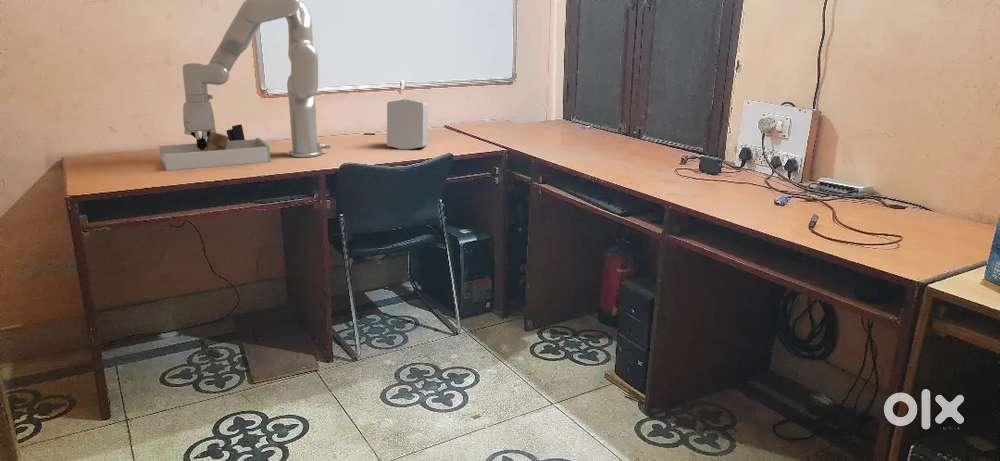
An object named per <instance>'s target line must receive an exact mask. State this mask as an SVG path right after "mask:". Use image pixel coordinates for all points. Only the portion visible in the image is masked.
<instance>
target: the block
mask: <svg viewBox="0 0 1000 461" xmlns="http://www.w3.org/2000/svg"><path fill="white" fill-rule="evenodd" d="M227 141H228V136H227V134H226V135H225V134H221V133H218V132H215V133H211V132H210V135H209V136H208V137H207V138H206V149H207V150H211V151H215V150H225V148H226V145H227Z"/></svg>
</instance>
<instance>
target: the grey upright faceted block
mask: <svg viewBox="0 0 1000 461" xmlns="http://www.w3.org/2000/svg"><path fill="white" fill-rule="evenodd" d="M428 112H429V111H428V104H427V103H426V102H425V103H424V102H419V101H415V100H410V99H406V98H405V99H399V100H392V101H387V103H386V145H387V147H389V148H390V147H391V148H395V149H400V150H411V149H418V148H424V147H427V144H428V116H429V115H428Z"/></svg>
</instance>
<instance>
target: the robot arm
mask: <svg viewBox="0 0 1000 461" xmlns="http://www.w3.org/2000/svg"><path fill="white" fill-rule="evenodd" d="M284 18H285V19H286V21H287V27H288V30H287V31H288V49H287V50H288V51H287V54H288V59H289V61H290V75H289V76H288V78H287V81H286V87H287V94H288V95H287V96H288V106H289V119H290V120H289V122H290V135H291V150H288V151H287V153H288V156H289V157H294V158H312V157H318V156H321V155H322V154H323V149H331V143H330V142H329V143H328V142H327V143H325V142H324V143H323V142H322V143H321V142H319V141H318V130H317V129H318V128H317V113H316V110H317V109H316V99H315V95H316V93H317V92H318V87H319V55H318V51H317V49H316V47H315V46H314V45H313V44H314V41H313V40H314V39H313V22H312V17H311V14H310V11H309V10H308V8H307V7H306V5H305V4H304V3H303V1H301V0H245V1H243V3H242V4H241V6H240V8H239V9H238V10H237V13H236V15H235V16H234V18H233V19H232V21H231V23H230V25H229V27H228V28H227V30H226V32H225V33H224V35H223V37H222V40H221V41H220V44H218V47H217V49H216V50H215V52H214V53H213V55H212V57H211V59H210V60H209V62H208V64H203V63H197V62H195V63H192V62H191V63H185V64H183V66H182V67H181V68H182V78H183V87H184V97H185V102H183V108H182V118H183V119H182V121H183V127H184V130H183V132H184V134H185V135H188V136H192V137H194V138H195V139H196V143H197V148H199V149H200V150H202V149H203V150H205V147H206V141H207V137H208V136H209V135H210V132H211V133H217V130H216V121H215V115H214V111H213V110H214V109H213V107H212V103H211V101H210V100H212V99H213V95H212V94H209V93H208V85H214V86H215V85H216V86H221V85H223V84H224V85H225V84H226V83H228V81H229V78H230V71H231V70H232V68H233V66H234V64H235V63H236V61H237V60H238V58H239V57H240V55H242V53H244V52H245V51H246V49H247V48H248V47H249V45H250V43H251V42H252V40H253V38H254V37H255V35H256V33H258V32H257V31H258V30H259V28H260V26H261V25H262V23H267V22H271V21H276V20H279V19H284ZM199 132H201V133H202V134H201V136H200V134H199Z"/></svg>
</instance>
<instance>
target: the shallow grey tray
mask: <svg viewBox="0 0 1000 461" xmlns="http://www.w3.org/2000/svg"><path fill="white" fill-rule="evenodd" d="M158 147H159V155H160V162H161V163H162V165H163V167H164V169H165V170H166V171H176V170H177V171H179V170H189V169H200V168H201V169H202V168H212V167H213V168H214V167H224V166H236V165H248V164H250V165H251V164H259V163H260V164H261V163H271V153H270V152H271V149H270V145H269V144H268V143H266V142H265V141H264V140H262V139H261V138H260V137H255V138H254V139H253V138H251V139H245V140H237V141H227V145H226V148H225V150H215V151H211V150H207V149H206V147H205V150H203V149H202V150H200V149H199V148H197V142H196V143H195V142H194V143H183V144H166V145H158Z"/></svg>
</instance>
